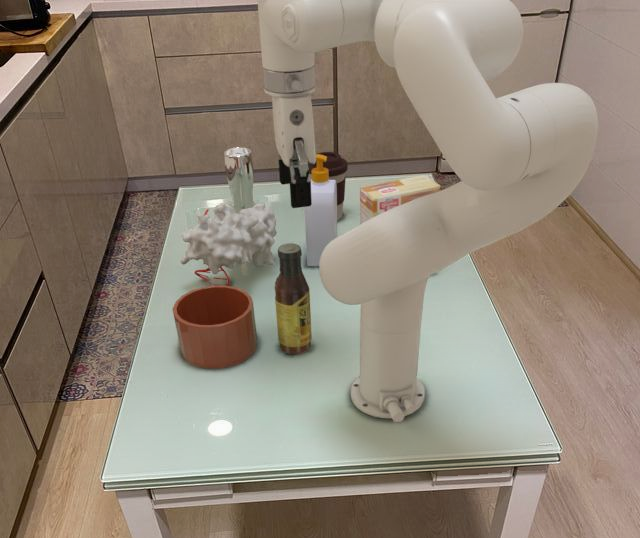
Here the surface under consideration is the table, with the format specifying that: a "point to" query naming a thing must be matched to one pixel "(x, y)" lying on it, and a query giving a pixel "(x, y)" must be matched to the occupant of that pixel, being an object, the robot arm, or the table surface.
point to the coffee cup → (334, 175)
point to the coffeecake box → (393, 194)
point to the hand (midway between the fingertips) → (295, 194)
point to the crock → (216, 326)
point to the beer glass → (240, 177)
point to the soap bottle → (320, 213)
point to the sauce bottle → (292, 302)
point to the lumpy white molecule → (231, 238)
